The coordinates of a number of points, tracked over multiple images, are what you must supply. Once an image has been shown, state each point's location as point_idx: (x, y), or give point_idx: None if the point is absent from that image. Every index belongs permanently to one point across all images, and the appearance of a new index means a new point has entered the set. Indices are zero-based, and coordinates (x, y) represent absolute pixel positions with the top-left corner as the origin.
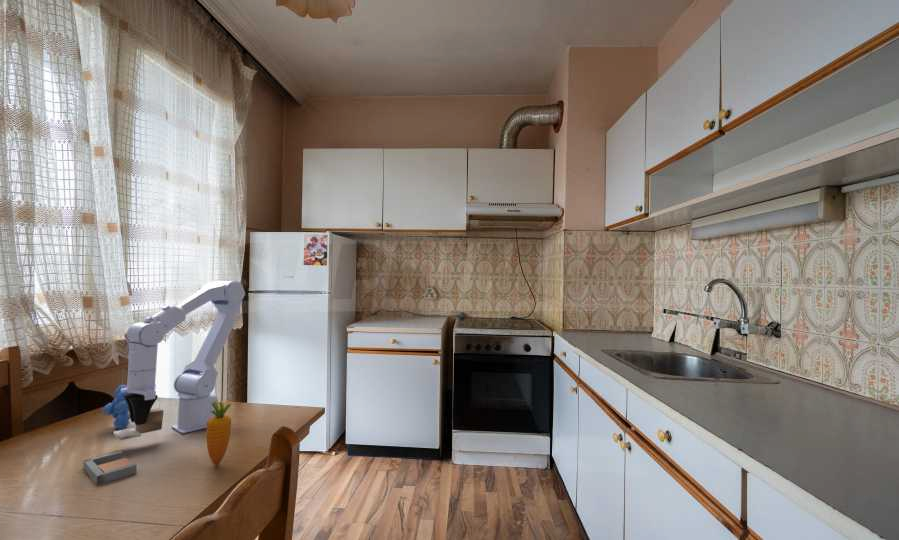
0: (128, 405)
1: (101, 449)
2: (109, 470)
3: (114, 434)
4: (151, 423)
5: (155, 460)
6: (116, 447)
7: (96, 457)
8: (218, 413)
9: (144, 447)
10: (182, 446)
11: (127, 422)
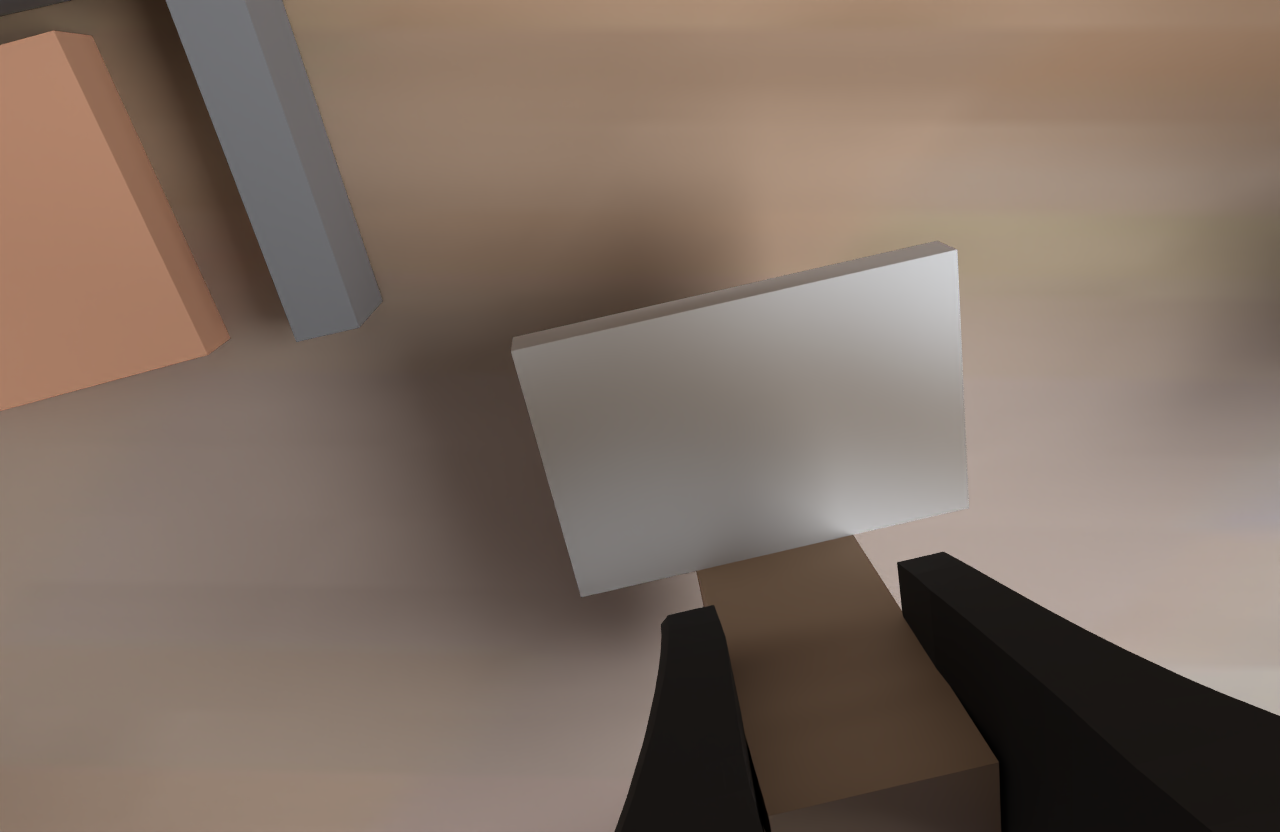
0: (1212, 764)
1: (905, 89)
2: None
3: (861, 262)
4: None
5: (116, 608)
6: (852, 256)
7: (244, 12)
8: None
9: None
10: (421, 818)
11: None
